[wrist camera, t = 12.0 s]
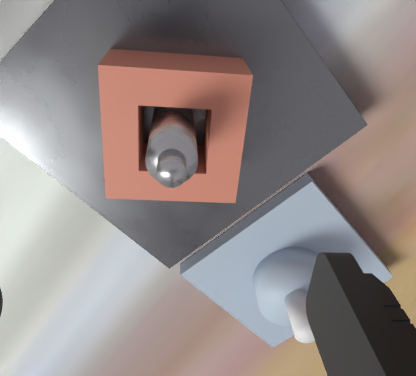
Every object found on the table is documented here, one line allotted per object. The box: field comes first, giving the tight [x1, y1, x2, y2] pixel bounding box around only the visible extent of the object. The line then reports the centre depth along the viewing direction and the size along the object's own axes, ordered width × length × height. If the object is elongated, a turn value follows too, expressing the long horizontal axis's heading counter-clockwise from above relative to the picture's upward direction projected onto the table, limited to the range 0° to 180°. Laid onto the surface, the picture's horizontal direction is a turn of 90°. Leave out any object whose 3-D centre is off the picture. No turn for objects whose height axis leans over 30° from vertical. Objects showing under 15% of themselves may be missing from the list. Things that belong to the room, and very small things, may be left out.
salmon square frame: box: [98, 49, 253, 203], centre depth 18 cm, size 6×6×3 cm
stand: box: [180, 173, 393, 347], centre depth 24 cm, size 10×10×6 cm
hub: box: [0, 0, 367, 268], centre depth 17 cm, size 14×14×7 cm
